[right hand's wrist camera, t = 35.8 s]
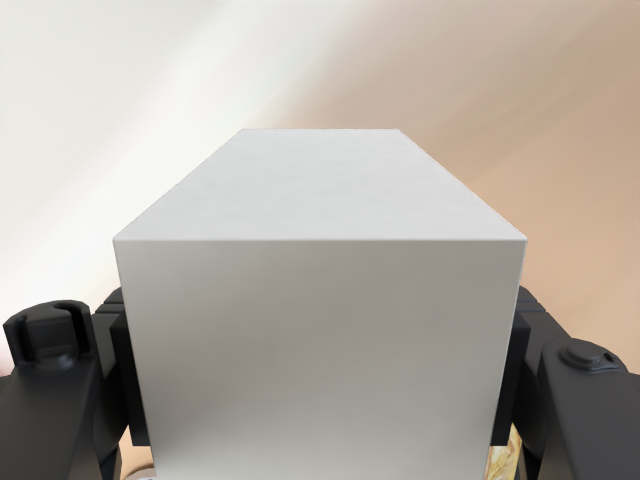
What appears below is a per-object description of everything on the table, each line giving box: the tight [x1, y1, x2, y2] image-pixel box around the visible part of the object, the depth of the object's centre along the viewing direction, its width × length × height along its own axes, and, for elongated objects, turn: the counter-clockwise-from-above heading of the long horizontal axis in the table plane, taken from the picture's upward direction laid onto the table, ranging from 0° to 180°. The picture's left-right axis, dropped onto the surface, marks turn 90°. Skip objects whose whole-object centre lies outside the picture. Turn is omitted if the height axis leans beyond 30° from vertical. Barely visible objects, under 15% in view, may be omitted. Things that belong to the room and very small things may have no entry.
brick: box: [113, 129, 528, 480], centre depth 13 cm, size 6×6×11 cm
